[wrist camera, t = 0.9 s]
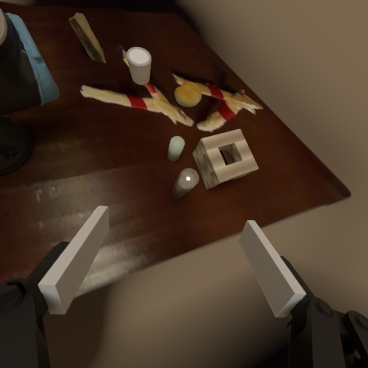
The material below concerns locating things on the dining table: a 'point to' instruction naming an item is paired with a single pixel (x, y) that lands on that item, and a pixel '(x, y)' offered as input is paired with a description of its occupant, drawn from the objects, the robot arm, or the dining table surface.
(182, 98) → the bread roll
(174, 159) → the short pin
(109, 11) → the dining table surface
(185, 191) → the tall grey cylinder
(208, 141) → the beige hollow block
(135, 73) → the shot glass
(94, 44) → the rock
